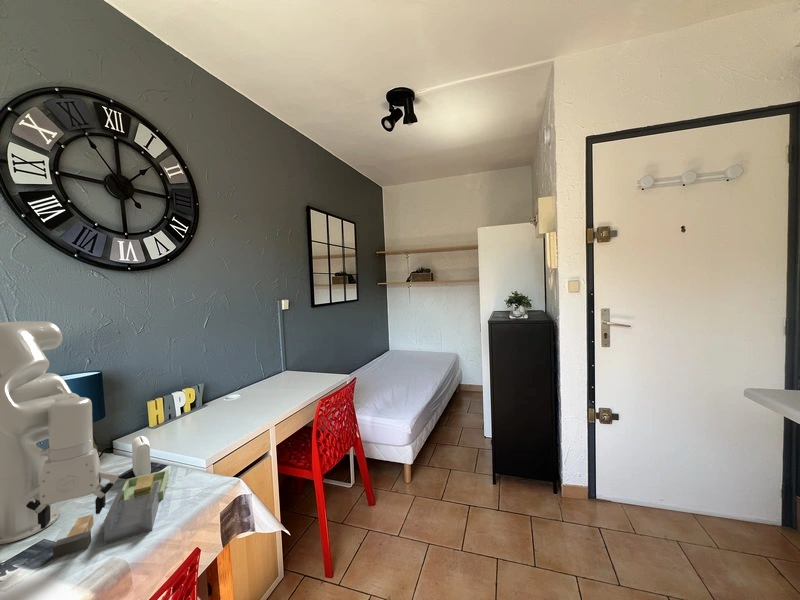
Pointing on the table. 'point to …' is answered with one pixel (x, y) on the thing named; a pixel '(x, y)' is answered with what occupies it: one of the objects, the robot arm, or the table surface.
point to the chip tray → (130, 487)
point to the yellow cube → (146, 478)
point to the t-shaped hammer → (75, 538)
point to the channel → (131, 515)
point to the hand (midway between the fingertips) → (73, 517)
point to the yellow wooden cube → (143, 488)
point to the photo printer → (141, 456)
